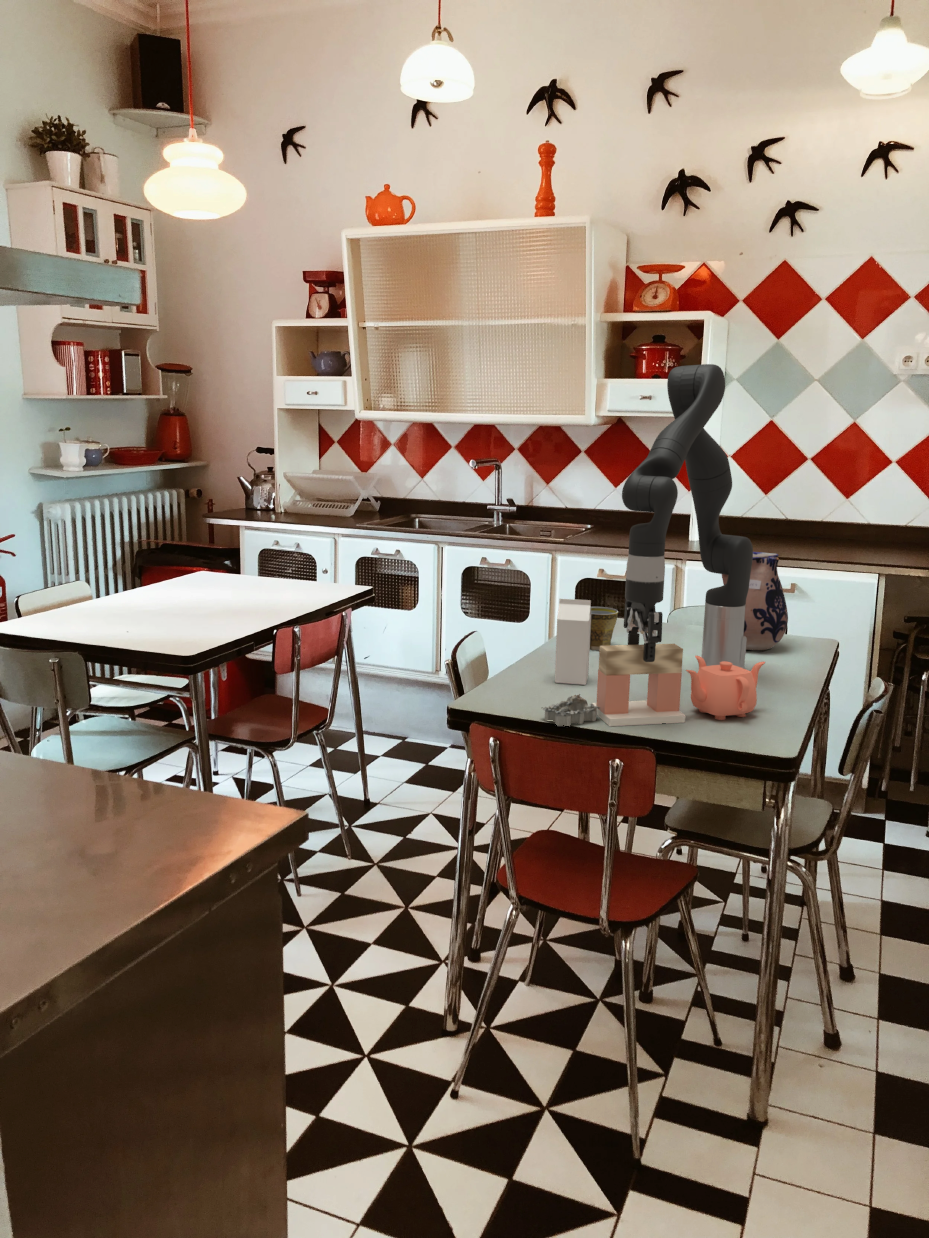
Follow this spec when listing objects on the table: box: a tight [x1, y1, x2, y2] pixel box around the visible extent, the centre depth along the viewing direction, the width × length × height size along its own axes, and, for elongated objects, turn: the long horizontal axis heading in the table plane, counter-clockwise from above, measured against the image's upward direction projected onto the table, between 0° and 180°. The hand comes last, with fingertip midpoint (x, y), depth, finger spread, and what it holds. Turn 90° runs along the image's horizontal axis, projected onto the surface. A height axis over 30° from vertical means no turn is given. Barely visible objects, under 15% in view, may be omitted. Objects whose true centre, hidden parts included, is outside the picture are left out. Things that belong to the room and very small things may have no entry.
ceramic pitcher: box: [721, 551, 789, 651], centre depth 261 cm, size 18×21×25 cm
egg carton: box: [542, 693, 600, 727], centre depth 198 cm, size 11×8×4 cm
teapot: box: [685, 655, 766, 721], centre depth 203 cm, size 14×14×11 cm
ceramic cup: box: [590, 606, 619, 651], centre depth 259 cm, size 13×10×10 cm
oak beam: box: [598, 643, 684, 676], centre depth 198 cm, size 16×4×5 cm, turn 101°
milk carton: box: [554, 598, 592, 686], centre depth 225 cm, size 7×7×19 cm
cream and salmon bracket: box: [591, 668, 686, 727], centre depth 200 cm, size 16×11×10 cm
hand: (640, 656), depth 198 cm, fingers open, 8 cm apart
